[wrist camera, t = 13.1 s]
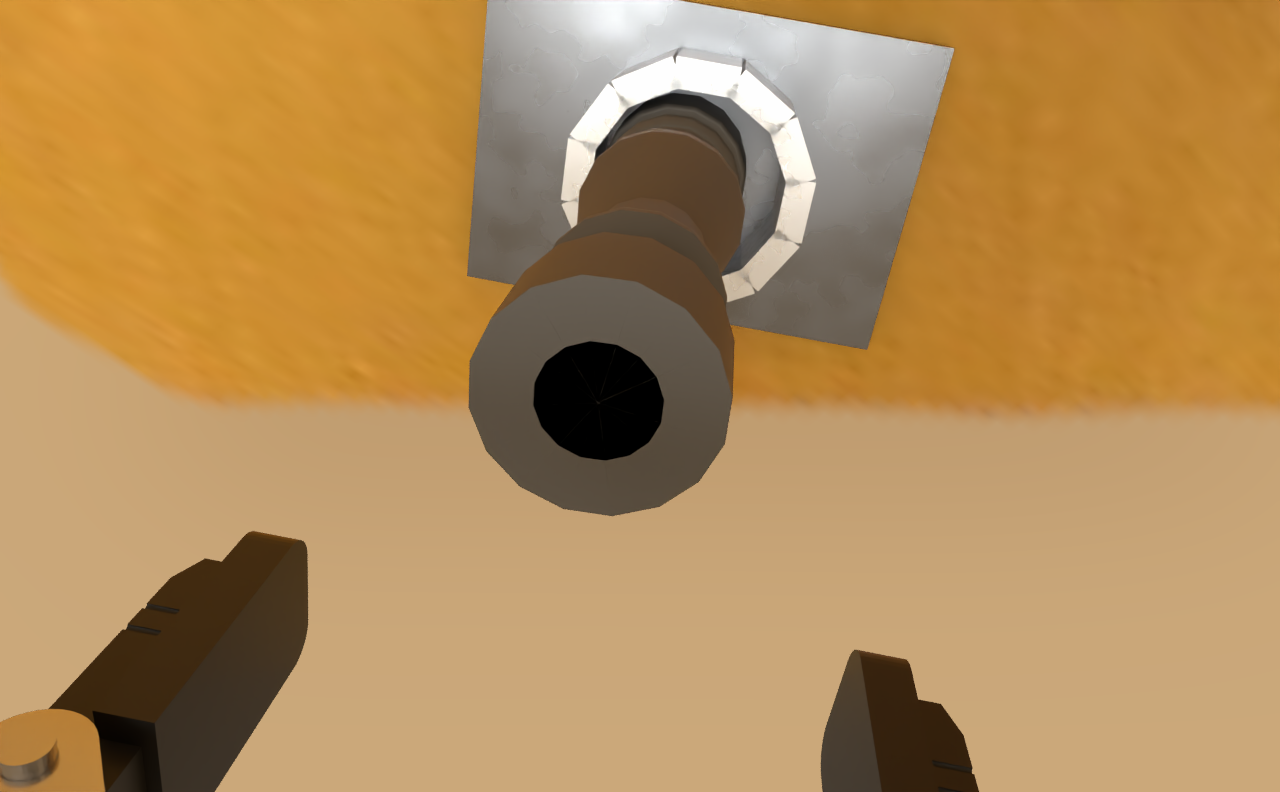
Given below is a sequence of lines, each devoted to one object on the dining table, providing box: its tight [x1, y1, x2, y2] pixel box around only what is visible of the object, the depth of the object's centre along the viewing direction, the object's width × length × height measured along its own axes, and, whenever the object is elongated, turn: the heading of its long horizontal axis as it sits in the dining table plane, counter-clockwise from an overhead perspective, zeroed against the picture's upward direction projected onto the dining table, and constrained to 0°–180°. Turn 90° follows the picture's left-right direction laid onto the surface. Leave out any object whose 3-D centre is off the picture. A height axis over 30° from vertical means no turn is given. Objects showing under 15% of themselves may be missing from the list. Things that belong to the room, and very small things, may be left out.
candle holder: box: [469, 93, 746, 516], centre depth 31 cm, size 6×6×25 cm
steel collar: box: [467, 0, 954, 350], centre depth 40 cm, size 20×14×5 cm
